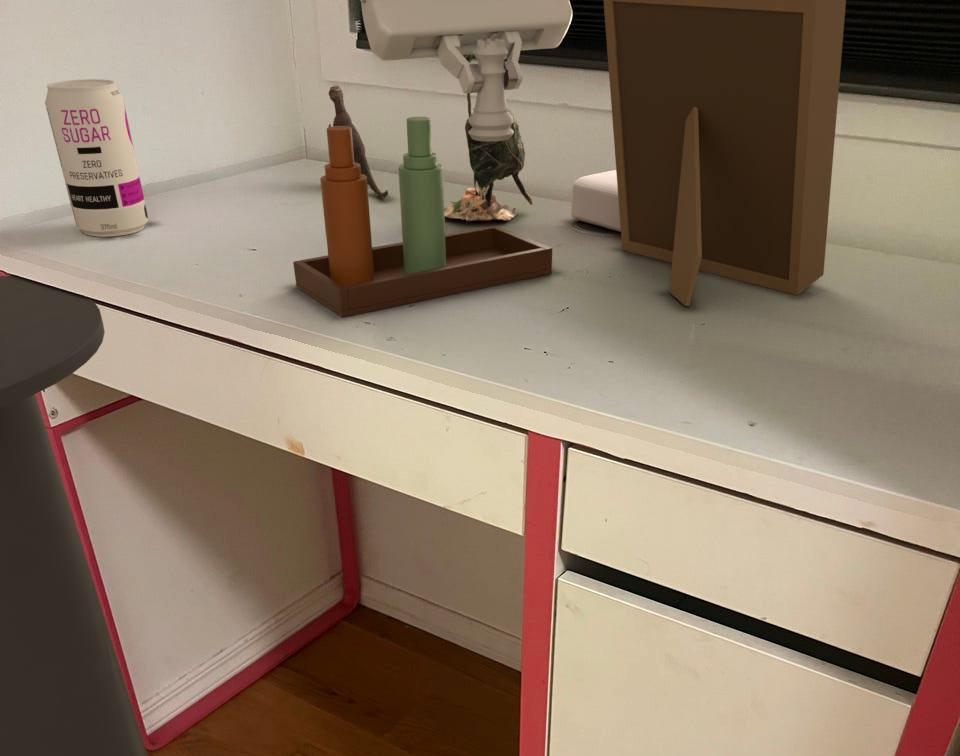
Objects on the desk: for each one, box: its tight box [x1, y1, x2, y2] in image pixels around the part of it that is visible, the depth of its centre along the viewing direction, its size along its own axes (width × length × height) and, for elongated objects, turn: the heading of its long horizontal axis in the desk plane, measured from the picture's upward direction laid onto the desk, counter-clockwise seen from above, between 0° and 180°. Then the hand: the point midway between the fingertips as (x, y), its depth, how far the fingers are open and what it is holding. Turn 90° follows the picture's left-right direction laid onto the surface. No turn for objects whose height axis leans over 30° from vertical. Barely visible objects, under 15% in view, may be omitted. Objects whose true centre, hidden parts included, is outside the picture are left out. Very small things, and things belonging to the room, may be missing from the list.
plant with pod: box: [444, 54, 534, 222], centre depth 109 cm, size 8×11×20 cm
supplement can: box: [44, 78, 149, 238], centre depth 109 cm, size 8×8×15 cm
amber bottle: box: [319, 125, 375, 286], centre depth 88 cm, size 4×4×14 cm
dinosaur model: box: [327, 85, 389, 199], centre depth 123 cm, size 4×12×15 cm
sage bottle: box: [397, 116, 446, 274], centre depth 92 cm, size 4×4×14 cm
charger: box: [570, 169, 621, 233], centre depth 109 cm, size 5×9×15 cm
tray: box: [292, 225, 553, 318], centre depth 95 cm, size 24×11×2 cm, turn 122°
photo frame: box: [603, 0, 847, 307], centre depth 88 cm, size 15×22×25 cm
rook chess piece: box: [468, 39, 514, 142], centre depth 90 cm, size 4×4×8 cm
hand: (494, 86), depth 89 cm, fingers closed on rook chess piece, 3 cm apart
